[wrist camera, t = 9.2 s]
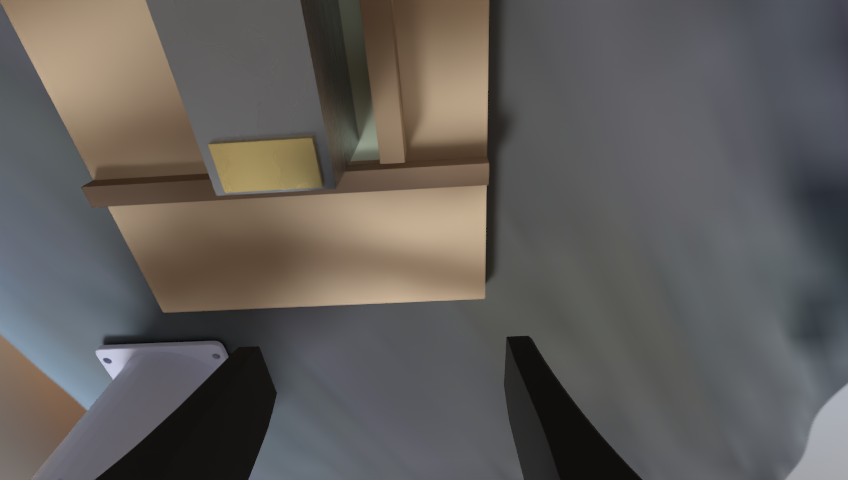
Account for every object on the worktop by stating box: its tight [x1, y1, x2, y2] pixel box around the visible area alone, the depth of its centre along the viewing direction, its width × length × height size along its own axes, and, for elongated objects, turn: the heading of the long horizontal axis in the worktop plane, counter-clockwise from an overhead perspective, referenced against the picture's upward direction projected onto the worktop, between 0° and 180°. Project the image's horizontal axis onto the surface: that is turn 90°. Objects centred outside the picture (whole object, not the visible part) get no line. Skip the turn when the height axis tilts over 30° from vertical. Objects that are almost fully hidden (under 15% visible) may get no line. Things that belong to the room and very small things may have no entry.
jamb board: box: [0, 0, 489, 313], centre depth 17 cm, size 18×18×2 cm
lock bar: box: [146, 0, 360, 196], centre depth 13 cm, size 8×4×5 cm, turn 4°
